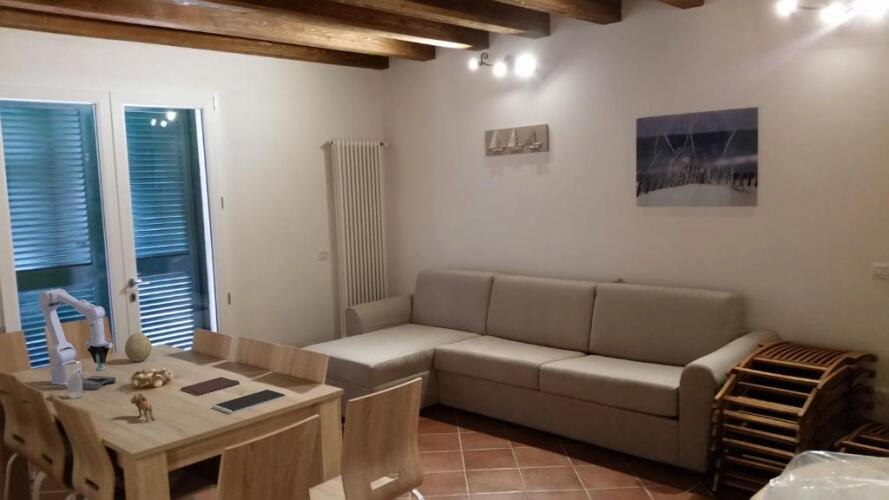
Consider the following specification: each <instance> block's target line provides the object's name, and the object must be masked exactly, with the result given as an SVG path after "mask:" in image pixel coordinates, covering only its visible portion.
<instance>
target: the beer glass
mask: <svg viewBox="0 0 889 500" xmlns="http://www.w3.org/2000/svg"><path fill="white" fill-rule="evenodd" d="M65 377H66V381H67V384H68V385H67V386H68V399H70V400H74V399H75V400H76V399H80V398H83V397H85V392H84V389H83V379H84V365H83V361H82V360H75V361H72V362H68V363H65Z"/></svg>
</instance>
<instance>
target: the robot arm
mask: <svg viewBox="0 0 889 500" xmlns="http://www.w3.org/2000/svg"><path fill="white" fill-rule="evenodd" d="M37 300H38V303H39V306H40V309H41V310H40V311H41V312H42V316H43V318H44V321H45V323H46V327H47V330H48V334H49V336H50V338H51V342H52V344H53V347H52V348H51V349H50V351H49V353H50V360H51V363H52V364H53V365H52V367H51V368H50V369H51V370H50V374H51V375H50V376H51V382H50V384H51V385H59V386H68V384H67V381H66V377H65V363H68V362H72V361H76V359H77V358H78V353H77V350H76V349H75V348H74V346H73V344H72V343H70V342H68V341H67V339H66V336H65V333H64V330H63V327H62V324H61V321H60V319H59V316H58V313H57V309H58V307H59V306H60V305H62V303H63V304H66V305H68V306H70V307H73V308H74V311H76V312H77V313H79V314H81V315H83V316H85V319H86V320H87V323H88V325H89V333H90V334H89V335H90V341H86V342H85V341H84V347H85V348H87V347H88V348H87V351H88V353H89V354H90V356H91V358H92V360H93V363H95V364H97V363H96V354H98V353H99V357H100V362H101V363H103V364H104V363H106V361H107V356H108V353H109V351H110V349H111V348H113V342H109V341H107V340H106V336H105V328H104V327H105V325H104V318H105V317H106V310H105V308H104V307H103V306H102V305H95V304H92V303H90V302H89V301H87V300H86V299H80V300H79V299H77V298H75V297H74V296H72V295H70V294H69V293H67V290H65V289H63V288H61V287H58V288H55V289H50V290H49V289H48V290H43V291H41V292H40V293H39V295H38V297H37Z"/></svg>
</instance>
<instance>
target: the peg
mask: <svg viewBox="0 0 889 500" xmlns="http://www.w3.org/2000/svg"><path fill="white" fill-rule="evenodd" d="M95 364H98V365H97V366H98V367H95V371H96V372H102V371H105V370H106V366H104V365H103V364H104V363H101V362H100V357H99V353H98V354H96V363H95Z"/></svg>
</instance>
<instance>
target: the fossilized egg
mask: <svg viewBox="0 0 889 500" xmlns="http://www.w3.org/2000/svg"><path fill="white" fill-rule="evenodd" d="M152 348H153V346H152V342H151V340H150V339H149V338H148V336H147V335H146V334H144V333H142V332H135V333H132V334H131V335H130V337H128V338H127V340H126V342H125V346H124V353H125V355H126V357H127V358H128V359H129V360H131V361H133V362H137V363H138V362H143V361H145V360H146V359H147V358H148V357H150V355H151V354H152Z"/></svg>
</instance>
